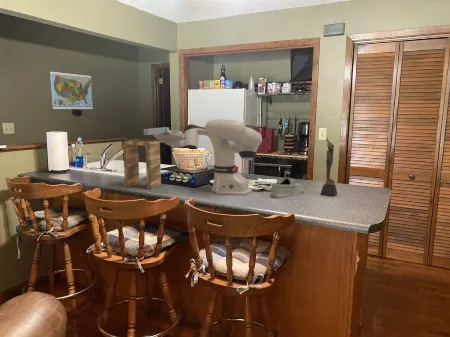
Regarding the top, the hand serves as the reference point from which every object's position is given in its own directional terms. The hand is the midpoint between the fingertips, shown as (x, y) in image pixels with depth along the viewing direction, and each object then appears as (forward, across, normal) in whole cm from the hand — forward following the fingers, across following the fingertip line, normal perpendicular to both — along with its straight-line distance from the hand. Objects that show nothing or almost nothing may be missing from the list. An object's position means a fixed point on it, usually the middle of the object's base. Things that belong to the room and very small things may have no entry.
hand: (162, 129), depth 219 cm
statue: (-18, -99, -26) cm, 104 cm away
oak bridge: (-1, +4, -36) cm, 37 cm away
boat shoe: (-13, -79, -30) cm, 85 cm away
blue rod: (+5, 0, -5) cm, 7 cm away
